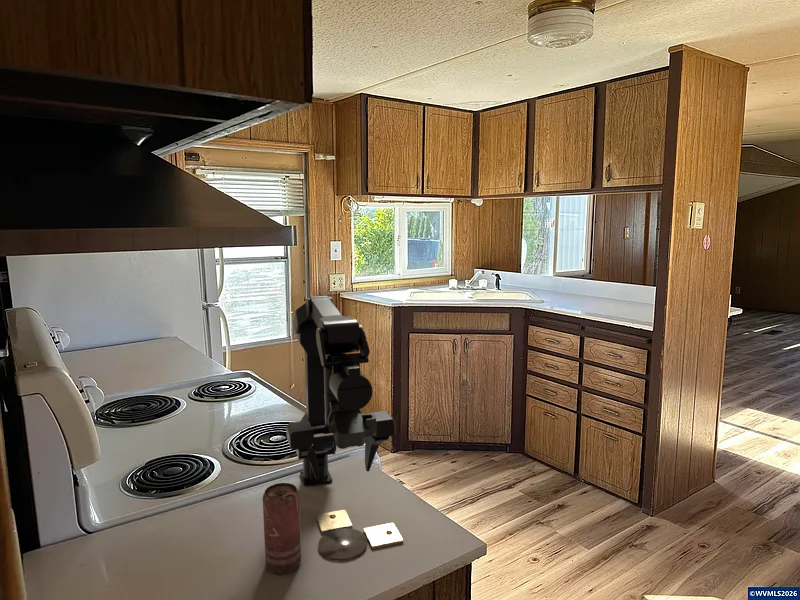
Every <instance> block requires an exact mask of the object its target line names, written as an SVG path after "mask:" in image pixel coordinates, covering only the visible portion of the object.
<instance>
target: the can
mask: <svg viewBox="0 0 800 600" xmlns="http://www.w3.org/2000/svg"><path fill="white" fill-rule="evenodd" d="M262 512H263V513H262V514H263V518H262V519H263V535H264V536H263V537H264V538H263V539H264V554H265V556H264V557H265V559H264V560H265V565H266V566H265V567H266V568H267V569H268V571H270V572H271V573H272V574H276V575H285V574H289V573H291V572H293V571H295V570H296V569H297V568H298V567H299V566H300V563H301V562H302V547H301V546H302V545H301V516H300V514H301V513H300V512H301V511H300V492H299V491H298V489H297V486H296V485H294V484H293V483H290V482H289V483H288V482H280V483H279V482H278V483H275V484H272V485H270V486H268V487H267V488H266V489H265V490H264V492H263V495H262Z"/></svg>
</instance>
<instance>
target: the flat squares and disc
mask: <svg viewBox="0 0 800 600" xmlns="http://www.w3.org/2000/svg"><path fill="white" fill-rule="evenodd" d="M315 518H316V522H317V524H318V526H319V529H320V532H321V534H322V536H321V537H320V538H319V541H318V551H319V553H320V554H321V555H322V556H323V557H325V558H326V559H329V560H334V561H347V560H348V561H349V560H352V559H355V558H357V557H359V556H362V554H363V553H364V552H365V551H366V550H367V547H368V543H369V545H370V547H371V549H372V550H375V549H380V548H386V547H389V546H394V545H398V544H399V545H400V544H403V543H404V539H403V537H402V535H401V534H400V532H399V530H398V528H397V527H396V524H395V523H394V522H390V523H385V524H379V525H375V526H369V527H364V528H363V532H362V531H360V530H357V529H355V528H353V524H352V522H351V519H350V518H349V514H348V513H347V511H346V509H341V510H340V509H339V510H334V511H329V512H324V513H323V512H322V513H318V514H316V515H315Z"/></svg>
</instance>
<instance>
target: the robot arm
mask: <svg viewBox="0 0 800 600" xmlns="http://www.w3.org/2000/svg"><path fill="white" fill-rule="evenodd" d="M333 302H334V300H333V298H332V296H328V295H313V296H309V297H306V299H305V303H303V304H302V305H300V306H299V307H298V308H297V309H295V313H294V316H293V331H294V335H296V339H297V341H298V342H299V344H300V346H301V347H302V348H303V350H304V371H305V372H304V374H305V375H304V378H305V379H304V380H305V381H304V382H305V386H304V387H305V413H304V415H303V416H302V418H301V419H300V421H293V422H289V423H288V424H287V425H286V439H287V442H288V445H289V449H290V450H294V451H295V452H296V456H297V459H298V460H302V471H300V472H299V475H300V478H301V482H302V484H303V486H304V487H308V486H316V485H321V484H327V483H332V482H333V477H332V475H331V473H330V471H329V456H330V455H333V456H334V455H336V452H337V448H338V449H341V450H343V449H347V448H351V447H362V446H364V464H365V471H366V472H370V470H371V467H372V464H373V462H374V459H375V457H376V453H377V452H378V449H379V447H380V445H381V444H382V443H384V442H385V441H389V439H390V437H394V436H396V435H397V421H396V420H395V419H394V418H393V417H392V416H391V414H389V412H387V411H386V410H381V411H374V412H373V411H372V412H367V413H362V412H361V409H363V408H364V407H366V406H367V405H368V404H369V402H370V401H371V399H372V397H373V392H374V391H373V387H372V384H371V382H370V380H369V379H368V378H367V377H366V375H364V374H363V373H362V371H361V364H366V363H369V356H370V347H369V344H368V343H369V342H368V339H367V335H366V332H365V330H363V326H362V325H361V324H360V323H359V321H358V320H357V319H356V318H355V317H352V316H346V315H342V314H341V312H340V311H339V310H338V308H337V307H336V305H335V304H334V303H333Z"/></svg>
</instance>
